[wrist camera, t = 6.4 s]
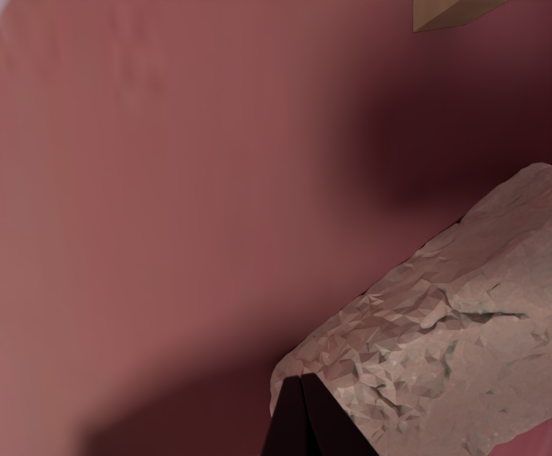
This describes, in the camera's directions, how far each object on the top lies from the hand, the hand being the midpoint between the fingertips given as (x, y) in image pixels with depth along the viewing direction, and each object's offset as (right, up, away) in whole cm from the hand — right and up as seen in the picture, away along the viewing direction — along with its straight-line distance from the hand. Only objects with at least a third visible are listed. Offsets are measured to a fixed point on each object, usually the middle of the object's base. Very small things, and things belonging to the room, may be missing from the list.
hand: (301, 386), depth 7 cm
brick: (+7, 0, +8) cm, 11 cm away
